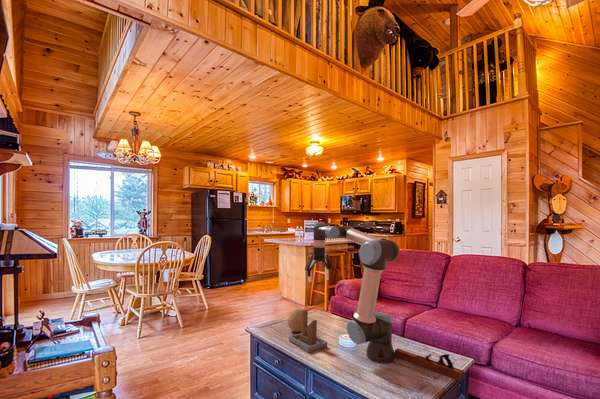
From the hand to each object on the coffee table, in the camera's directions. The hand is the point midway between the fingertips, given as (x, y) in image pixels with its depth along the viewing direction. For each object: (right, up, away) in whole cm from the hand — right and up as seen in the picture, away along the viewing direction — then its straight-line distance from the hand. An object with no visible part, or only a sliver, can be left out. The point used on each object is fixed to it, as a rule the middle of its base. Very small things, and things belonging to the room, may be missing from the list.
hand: (318, 280), depth 197 cm
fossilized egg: (-14, -35, +6) cm, 38 cm away
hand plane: (+53, -35, -39) cm, 74 cm away
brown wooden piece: (-7, -33, -14) cm, 36 cm away
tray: (-7, -34, -14) cm, 37 cm away
